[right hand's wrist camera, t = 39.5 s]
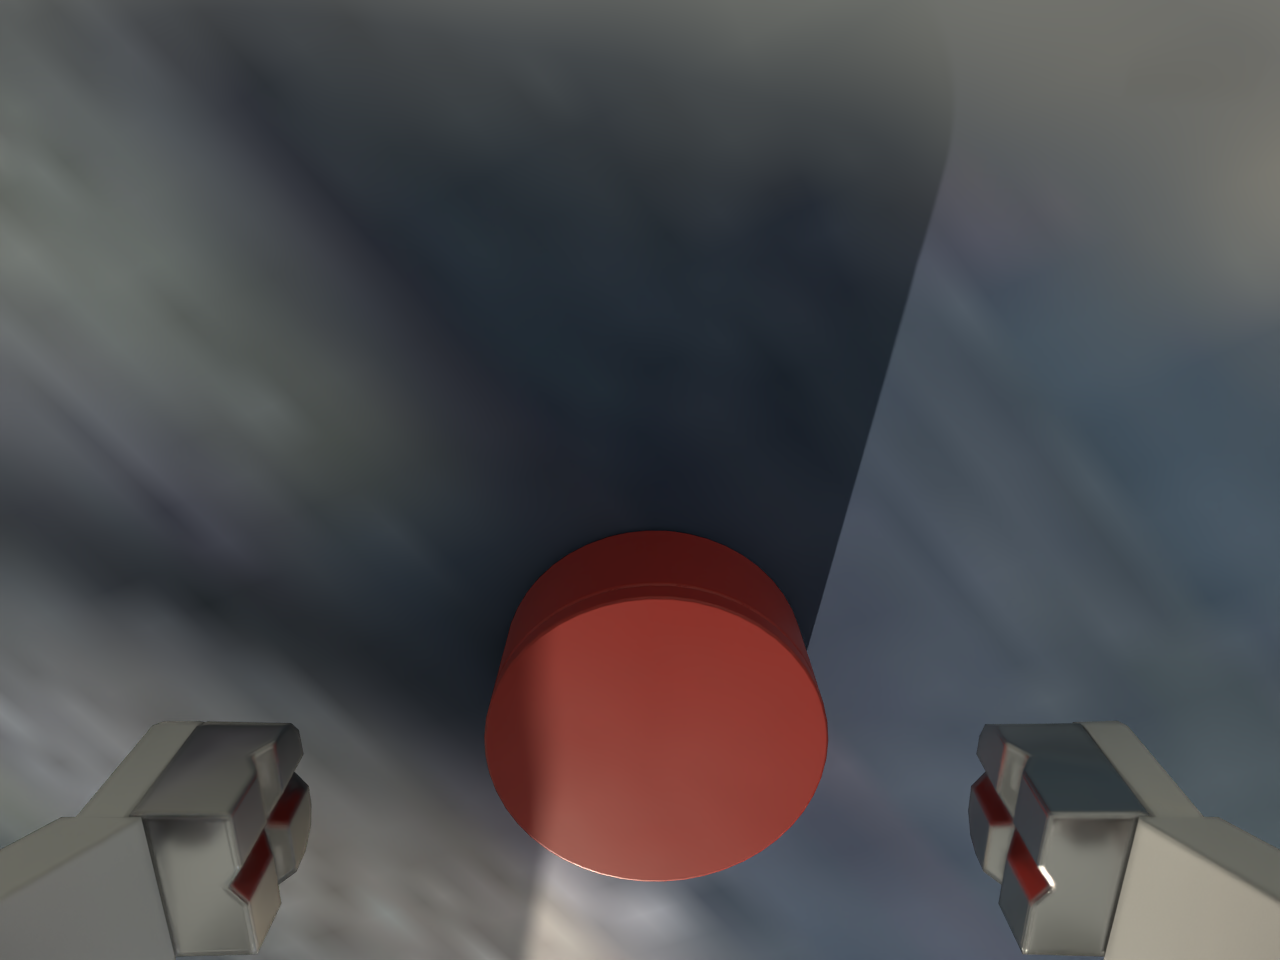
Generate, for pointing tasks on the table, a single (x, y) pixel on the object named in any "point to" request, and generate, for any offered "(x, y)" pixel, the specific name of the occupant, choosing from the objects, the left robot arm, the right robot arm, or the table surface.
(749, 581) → the cap
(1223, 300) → the table surface
